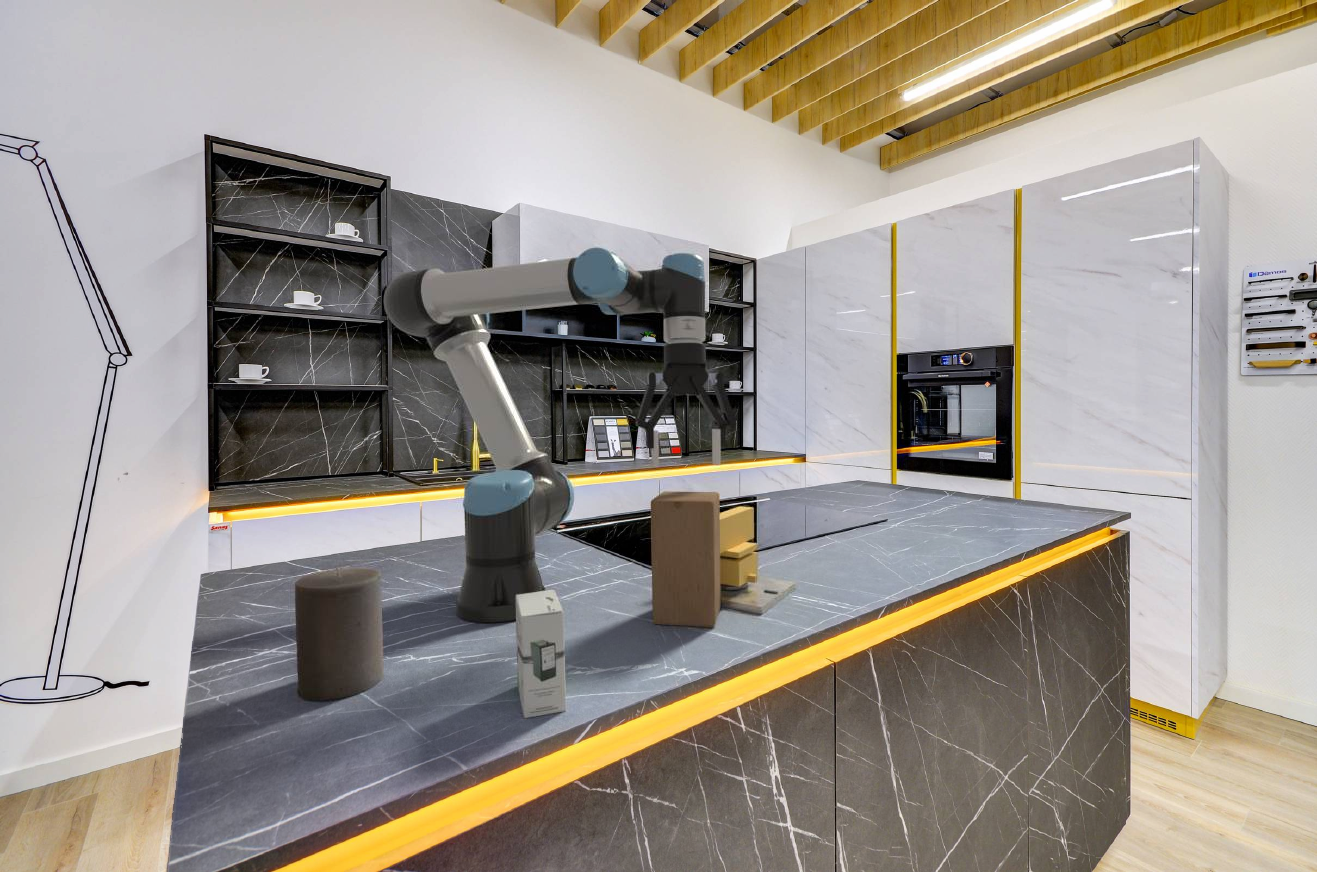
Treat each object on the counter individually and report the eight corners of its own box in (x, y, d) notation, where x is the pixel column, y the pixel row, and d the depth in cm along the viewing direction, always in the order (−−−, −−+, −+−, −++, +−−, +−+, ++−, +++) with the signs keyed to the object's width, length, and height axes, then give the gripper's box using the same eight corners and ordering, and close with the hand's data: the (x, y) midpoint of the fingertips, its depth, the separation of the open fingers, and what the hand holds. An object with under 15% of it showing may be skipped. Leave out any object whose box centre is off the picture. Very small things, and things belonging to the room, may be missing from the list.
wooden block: (714, 628, 89) (713, 500, 88) (652, 625, 91) (649, 499, 90) (720, 606, 99) (719, 491, 98) (664, 604, 101) (662, 490, 100)
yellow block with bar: (681, 584, 104) (680, 517, 103) (722, 563, 117) (721, 504, 116) (737, 594, 98) (736, 523, 97) (773, 571, 111) (772, 509, 110)
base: (660, 594, 106) (660, 541, 106) (703, 573, 120) (702, 525, 119) (761, 614, 95) (761, 554, 95) (796, 588, 109) (795, 535, 108)
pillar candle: (290, 708, 67) (286, 581, 66) (304, 673, 76) (301, 561, 75) (383, 692, 71) (380, 572, 70) (385, 660, 80) (383, 553, 79)
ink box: (516, 685, 72) (513, 592, 71) (556, 678, 74) (553, 587, 73) (523, 720, 64) (520, 615, 63) (567, 711, 65) (565, 609, 65)
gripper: (623, 340, 97) (625, 469, 98) (753, 341, 102) (754, 465, 103) (617, 345, 105) (620, 465, 106) (739, 346, 109) (740, 461, 110)
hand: (686, 465), depth 104 cm, fingers open, 11 cm apart
